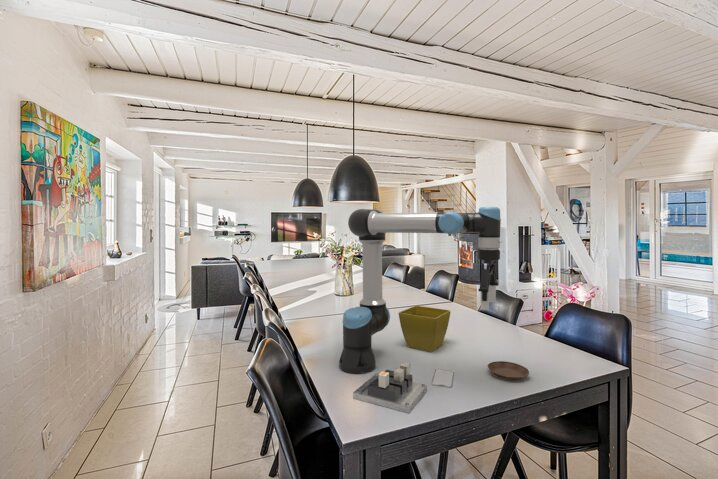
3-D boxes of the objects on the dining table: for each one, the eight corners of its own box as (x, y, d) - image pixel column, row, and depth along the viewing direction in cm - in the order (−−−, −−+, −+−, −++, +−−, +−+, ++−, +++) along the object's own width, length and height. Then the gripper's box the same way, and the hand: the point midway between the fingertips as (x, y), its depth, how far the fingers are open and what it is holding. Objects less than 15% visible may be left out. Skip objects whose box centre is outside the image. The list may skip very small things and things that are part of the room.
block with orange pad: (378, 386, 118) (378, 374, 117) (382, 383, 120) (382, 370, 120) (385, 388, 116) (385, 375, 116) (389, 384, 119) (389, 372, 119)
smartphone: (454, 371, 142) (451, 387, 128) (454, 372, 142) (451, 388, 128) (435, 368, 144) (430, 384, 130) (435, 370, 144) (430, 386, 130)
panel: (353, 398, 121) (353, 371, 120) (375, 378, 136) (375, 355, 135) (409, 413, 111) (409, 384, 111) (426, 390, 126) (427, 365, 125)
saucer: (538, 380, 134) (538, 373, 134) (504, 386, 130) (504, 378, 130) (510, 365, 148) (510, 359, 148) (479, 370, 144) (479, 363, 144)
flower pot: (415, 337, 185) (415, 305, 184) (451, 344, 174) (451, 309, 173) (397, 347, 170) (397, 312, 169) (435, 356, 159) (435, 318, 158)
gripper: (493, 251, 120) (493, 314, 121) (505, 247, 141) (504, 300, 142) (470, 250, 124) (470, 311, 125) (485, 246, 145) (484, 298, 146)
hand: (488, 305), depth 134 cm, fingers open, 13 cm apart
